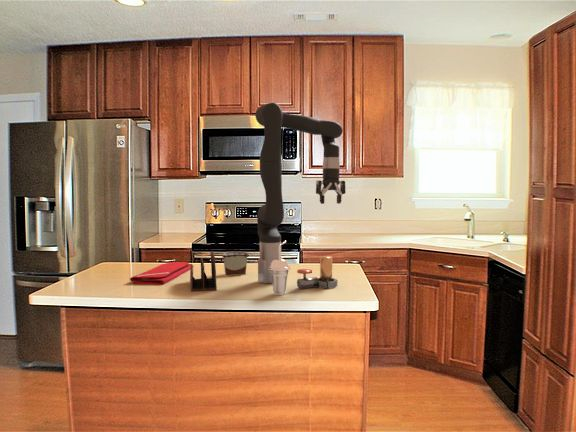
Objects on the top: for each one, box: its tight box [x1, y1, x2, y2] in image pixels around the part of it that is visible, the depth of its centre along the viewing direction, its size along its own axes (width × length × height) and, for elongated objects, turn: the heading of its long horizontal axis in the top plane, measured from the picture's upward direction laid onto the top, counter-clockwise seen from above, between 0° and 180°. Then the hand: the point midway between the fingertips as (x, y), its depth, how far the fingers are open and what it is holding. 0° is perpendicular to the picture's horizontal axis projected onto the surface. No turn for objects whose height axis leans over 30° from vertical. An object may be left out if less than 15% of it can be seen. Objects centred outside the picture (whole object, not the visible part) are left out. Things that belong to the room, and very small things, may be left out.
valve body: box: [296, 268, 338, 290], centre depth 204 cm, size 18×9×7 cm, turn 116°
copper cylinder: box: [319, 255, 333, 282], centre depth 206 cm, size 5×5×12 cm
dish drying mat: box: [129, 261, 194, 286], centre depth 229 cm, size 16×41×4 cm, turn 173°
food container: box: [221, 251, 249, 276], centre depth 232 cm, size 12×6×10 cm, turn 108°
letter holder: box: [189, 250, 218, 293], centre depth 206 cm, size 10×20×14 cm, turn 12°
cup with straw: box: [268, 240, 291, 296], centre depth 192 cm, size 8×9×20 cm
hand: (330, 203), depth 226 cm, fingers open, 8 cm apart
